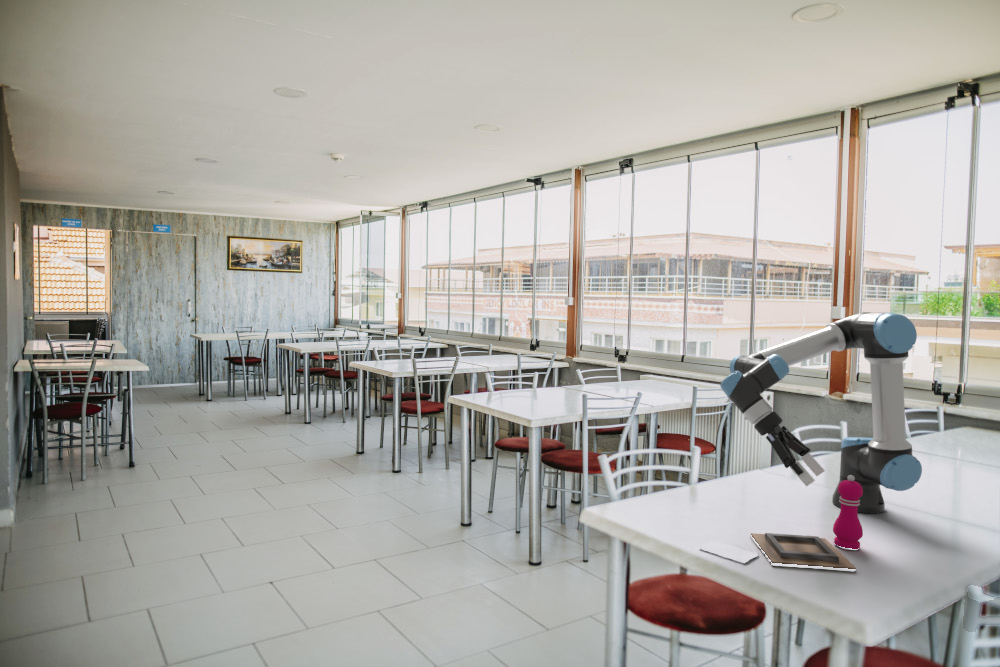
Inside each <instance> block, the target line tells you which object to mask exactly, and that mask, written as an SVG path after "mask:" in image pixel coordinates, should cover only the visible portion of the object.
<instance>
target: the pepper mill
mask: <svg viewBox="0 0 1000 667" xmlns="http://www.w3.org/2000/svg"><path fill="white" fill-rule="evenodd" d="M847 479H848V480H844V481H842V482H841V483H840V484H839V486H838V492H839V494H840V495H841V496H840V497H839V498H840V500H839V502H840V503H841V508H840V511H839V514H838V517H837V518H836V519H835V521H834V523H833V527H832V532H833V534H834V535H835V537H834V539H833V544H834V543H835V544H836V545H838V546H841V547H845V548H852V549H858V548H860V549H861V542H860V541H859V540H861V539H862V538H863V536H864V535H863V534H864V532H863V530H864V529H863V526H862V524H861V522H860V518H859V515H858V512H857V509H858V506H859V505H860V500H859V498H860V497H861V496H862V494H863V489H862V487H861V485H860V484H859V483H858V482H856V481H854V480H855V478H854V476H853V475H849V476H848V477H847Z"/></svg>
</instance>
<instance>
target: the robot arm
mask: <svg viewBox="0 0 1000 667" xmlns="http://www.w3.org/2000/svg"><path fill="white" fill-rule="evenodd" d="M917 334H918V333H917V328H916V326H915V324H914V323H913V322H912V320H910V318H908V317H907V316H905V315H903V314H898V313H895V312H869V311H866V312H864V311H862V312H860V313H859V312H857V313H855V314H853V315H849V316H847V317H846V316H845V317H843V318H841V319H838V320H836V321H833V322H830V323H828V324H826V325H825V327H824V328H822V329H819V330H817V331H814V332H811V333H808V334H806V335H803V336H800V337H797V338H794V339H791V340H788V341H785V342H783V343H780V344H778V345H774V346H771V347H769V348H766V349H763V350H760V351H758V352H755V353H751V354H749V355H737V356H735V357H733V358H732V359H731V361H730V363H729V371H730V374H729V375H726V377H725V378H724V379H723V380H722V381H721V382H720V386H719V387H720V389H721V390H722V391H723V394H725V395H726V396H727V398H728V399H729V400H730V401H731V403H733V404H734V406H736V408H737V409H738V410H739V411H740V412H741V413H742V415H743V416H744V419H745V420H746V421H747V420H748V422H749V423H750V424H751V425H753V427H754V429H755V430H756V431H757V432H758V434H759V435H760V436H762V437H763V436H765V435H766V436H765V439H766V440H767V441H768V442H769V444H770V445H771V446H772V448H773V449H774V451H775V453H776V455H777V456H778V458H779V459H780V461H781V462H782V464H783V466H784V467H785V469H788V468H790V469H791V470H792V471H793V473H794V474H795V475H796V476H797V477H798V479H799V480H801V482H802V483H803V484H804V485H805V487H808V486H809V485H811V484H813V482H816V480H815V478H813V476H812V475H811V474H810V473H809V472H808V470H807V469H806V468H805V467H804V465H802V464H801V462H800V461H799V460H797V459H796V458H795V456H794V454H793V452H795V454H797V455H799V456H800V459H801V460H802V461H803V462H804V464H805V465H806V466H807V467H808V468H809V470H811V472H812V473H813V474H814V475H815V476H816V477H818V476H820V475H821V474H823V473H825V470H826V469H824V468H823V467H822V466H821V464H820V463H819V462H818V461H817V460H816V458H814V457H813V455H812V454H811V453H810V452H811V451H812V450H811V448H810V447H808V446H806V445H805V444H804V443H803V442H802V441H801V440H800V439H799V438H797V436H795V435H794V434H793V433H792V432H791V431H790V430H789V429H788V428H787V427H786V426H784V425H783V426H780V424H782V423H783V419H782V417H781V416H780V415H779V413H777V412H776V411H773V410H774V409H773V407H772V406H771V405H770V404H769V403H768V401H766V399H764V397H763V396H762V394H763V393H765V392H766V391H767V390H768V389H770V388H771V387H773V386H774V385H776V384H777V383H778V382H780V381H783V380H782V379H784V378H785V377H786V376H788V375H789V373H790V366H793V365H796V364H800V363H802V362H804V361H808V360H810V359H813V358H816V357H819V356H822V355H824V354H827V353H830V352H833V351H835V352H843V351H846V350H849V349H850V350H852V349H862V350H863V355H864V356H863V358H865V360H867V362H869V364H870V365H869V366H870V367H869V368H870V390H871V409H872V410H871V411H872V412H871V413H872V414H871V416H872V433H873V434H872V437H865V436H864V437H863V436H861V437H859V436H847V437H844V438H843V439H842V442H841V447H840V467H839V469H840V471H839V481H838V483H837V486H836V487H835V490H834V492H833V494H832V504H833V505H835V506H836V507H839V508H840V509H841V503H840V502H839V500H840V498H839V497H840V496H841V495H840V494H839V492H838V486H839V484H840V483H841V482H842V481H844V480H848V479H847V477H848V476H849V475H853V476H854V478H855V480H854V481H856V482H858V483H859V484H860V485H861V487H862V489H863V494H862V496H861V497H860V498H859V500H860V505H859V506H858V509H857V513H862V514H881V513H884V512H885V506H886V505H885V500H884V497H883V494H882V490H881V486H882V487H884V488H885V489H889V490H894V491H897V492H903V491H908V490H910V489H911V488H913V487H915V485H916V484H917V483H918V482H920V479H921V477H922V473H923V468H922V464H921V462H920V460H919V459H918V458H917V457H916V456H914V455H913V444H911V443H910V442H909V441H908V440H907V437H906V436H907V434H906V417H905V416H906V413H905V410H906V409H905V390H904V389H905V388H904V386H905V384H904V365H903V364H904V361H906V360H907V359H908V357H909V351H910V350H912V348H914V345H915V344H916V342H917V337H918V336H917ZM792 451H793V452H792Z"/></svg>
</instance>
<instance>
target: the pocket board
mask: <svg viewBox="0 0 1000 667" xmlns="http://www.w3.org/2000/svg"><path fill="white" fill-rule="evenodd" d="M751 535H752V537H753V538H754V539H755V541H756V542H757V543H758V544H759V546H760V547H761V549H762V550H763V551H764V552H765V554H766V555H767V556H768V558H769V559H770V560H771V562H772V563H782V564H797V565H808V566H823V567H833V568H848V569H856V570H857V567H856V566H855V565H854V564H853V563H852V562H851V561H850V560H848V558H847V557H845V556H844V555H843V554H842V553H841V552H840V551H839V550H838V549H837V547H836V546H835V545H832V543H831V542H829V540H828V539H826V538H824V537H820V536H814V535H804V534H803V535H801V534H788V533H787V534H785V533H771V532H765V533H753V532H750V536H751Z"/></svg>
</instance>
